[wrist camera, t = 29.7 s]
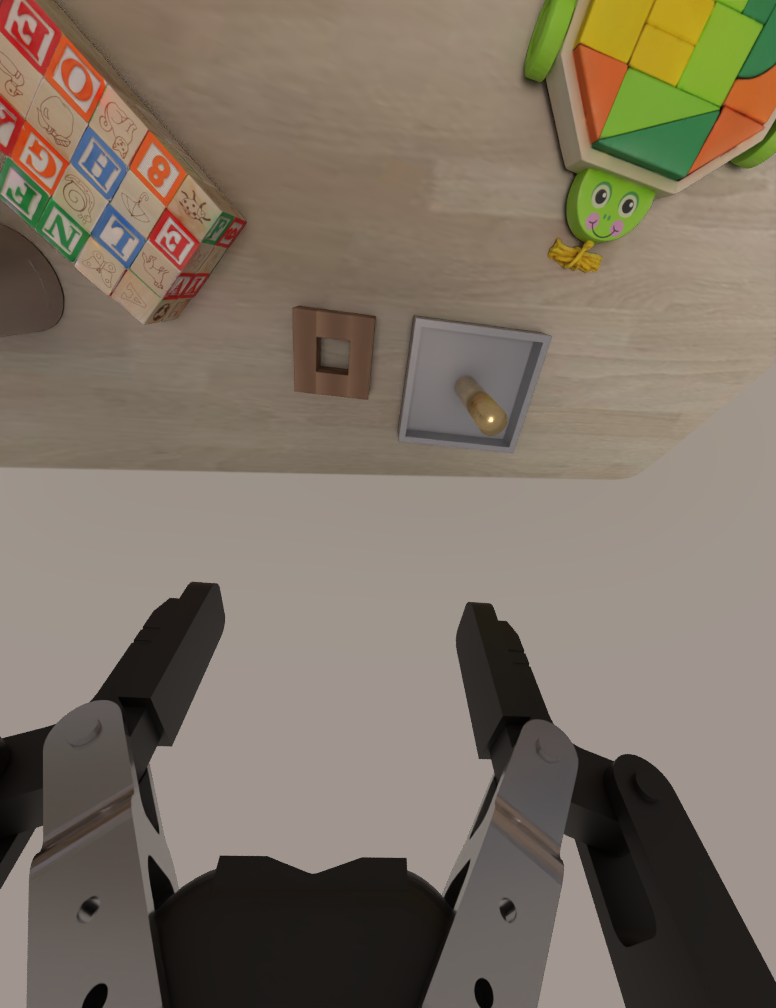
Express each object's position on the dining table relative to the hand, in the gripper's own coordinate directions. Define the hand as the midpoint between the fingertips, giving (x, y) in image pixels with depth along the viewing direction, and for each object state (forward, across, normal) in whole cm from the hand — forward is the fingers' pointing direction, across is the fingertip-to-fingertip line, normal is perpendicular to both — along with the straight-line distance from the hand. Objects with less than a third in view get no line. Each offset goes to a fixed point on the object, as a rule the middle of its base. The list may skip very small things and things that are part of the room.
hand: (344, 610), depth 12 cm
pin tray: (+34, -11, 0) cm, 36 cm away
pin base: (+34, +4, -2) cm, 34 cm away
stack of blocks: (+31, +20, -20) cm, 42 cm away
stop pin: (+34, -11, 0) cm, 35 cm away
